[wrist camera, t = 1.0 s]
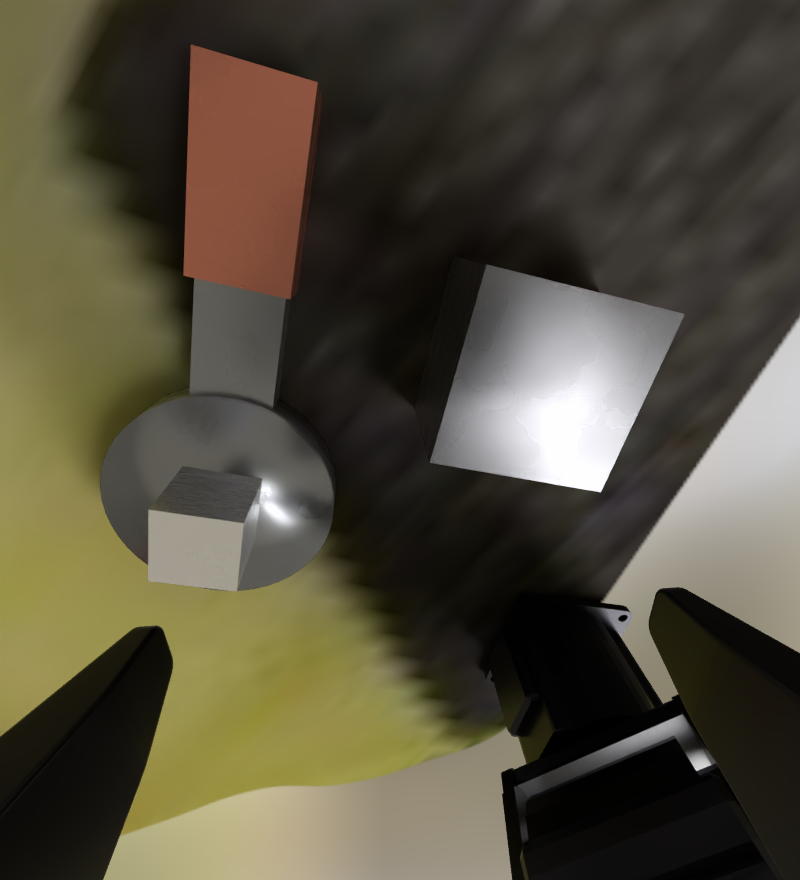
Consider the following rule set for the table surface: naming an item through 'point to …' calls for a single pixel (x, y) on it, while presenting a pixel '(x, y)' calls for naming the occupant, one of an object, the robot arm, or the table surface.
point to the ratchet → (232, 353)
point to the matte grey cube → (536, 375)
